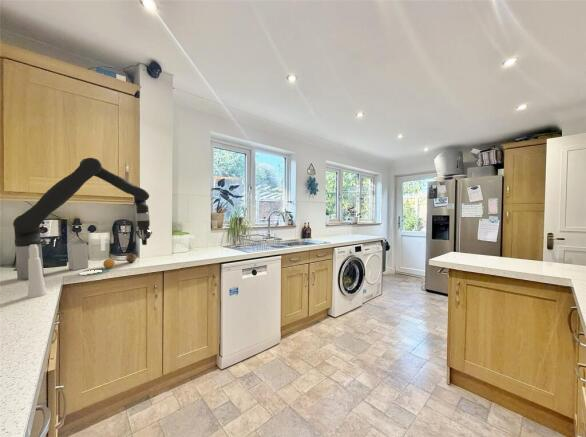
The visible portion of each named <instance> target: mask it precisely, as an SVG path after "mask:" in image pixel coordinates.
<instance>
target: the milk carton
mask: <svg viewBox="0 0 586 437" xmlns="http://www.w3.org/2000/svg"><path fill="white" fill-rule="evenodd" d="M66 247H67V249H66V250H67V261H68V262H67V263H68V269H69V270H72V271H78V270H83V269H87V268H89V255H88V243H87V242H86V241H84V240H82V239H80V237H79V236H75V235H74V236H73V238H71V239H69V242H67V243H66Z"/></svg>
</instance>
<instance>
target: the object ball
mask: <svg viewBox="0 0 586 437" xmlns="http://www.w3.org/2000/svg"><path fill="white" fill-rule="evenodd" d="M102 263H103V264H102V265H103V266H104V267H103V268H110V269H111V268H113V267H114V266H115V265H116V262H115V260H114V259H112V258H107V259H105V260H104V261H103V262H102Z"/></svg>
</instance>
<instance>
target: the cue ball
mask: <svg viewBox="0 0 586 437" xmlns="http://www.w3.org/2000/svg"><path fill="white" fill-rule="evenodd" d="M136 259H137V256H136V254H135V253H134V254H133V253H129V254H127V255H126V257H125V260H126V262H128V263H134V262H135V261H136Z"/></svg>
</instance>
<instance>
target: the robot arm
mask: <svg viewBox="0 0 586 437" xmlns="http://www.w3.org/2000/svg"><path fill="white" fill-rule="evenodd" d="M93 177H96V178H98V179H101V180H103V181H104V182H106V183H108V184H110V185H112V186H113V187H115V188H116V189H118V190H120V191H122V192H124V193H126V194H128V195H132V196H133V197H134V202H135V206H136V208H135V209H136V215H135V216H136V227H137V230H136V231H135V234H136V236H137V237H138V238H139V239H141V245H142V246H147V244H148V239H150V238H151V235H152V234H153V231H151V230H150V225H151V224H150V212H149V206H148V204H147V200H148V199H149V198H150V193H149V192H148V191H147V190H145V189H143V188H142V187H140V186H137V185H135V184H133V183H132V182H130V181H129V180H127V179H125V178H123V177H121V176H119V175H117V174H115V173H112V172H111V171H110V170H107V169H106V168H104V167H103V165H102V163H101V161H100V160H99V159H97V158H94V157H87V158H83V159H81V161H80V162H79V165H78V166H77V168H76V169H75V170H74V171H73V172H71V173H70V174H69V175H66V176H65V177H63V178H62V179H61V180H59V181H57V182H56V183H55V184H54V185H53V186H52V187H50V188H49V189H48V190H46V192H45V193H44V194H43V195H42V196H41V197H40V199H38V200H37V202H36V203H35V204H34V205H33V206H32V207H30V208H29V209H28V210H26V211H25V212H23V213H22V214H20V215H18V216H17V217H15V219H14V220H13V222H12V225H13V230H14V244H15V255H16V262H15V266H16V275H17V276H16V277H17V281H25V280H29V275H28V259H30V257H29V247H30V246H29V245H35V244H36V245H37V247H38V253H39V258H40V259H41V265H42V272H43V276H44V274H45V273H44V262H43V251H42V250H43V248H42V236H41V224H42V223H43V222H44V221H45V220H46V218H47V217H49V216H50V215H51V214H52V213H53V212H54V211H56V210H58V208H61V206H63V205H64V204H65V203H66V202H68V201H69V200H70V199H71V198H72V197H73V196H74V195H76V194H77V192H78V191H79V190H80V189H81V188H82V187H83V186H84V185H85V183H87V182H88V181H89V180H90V179H91V178H93Z"/></svg>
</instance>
